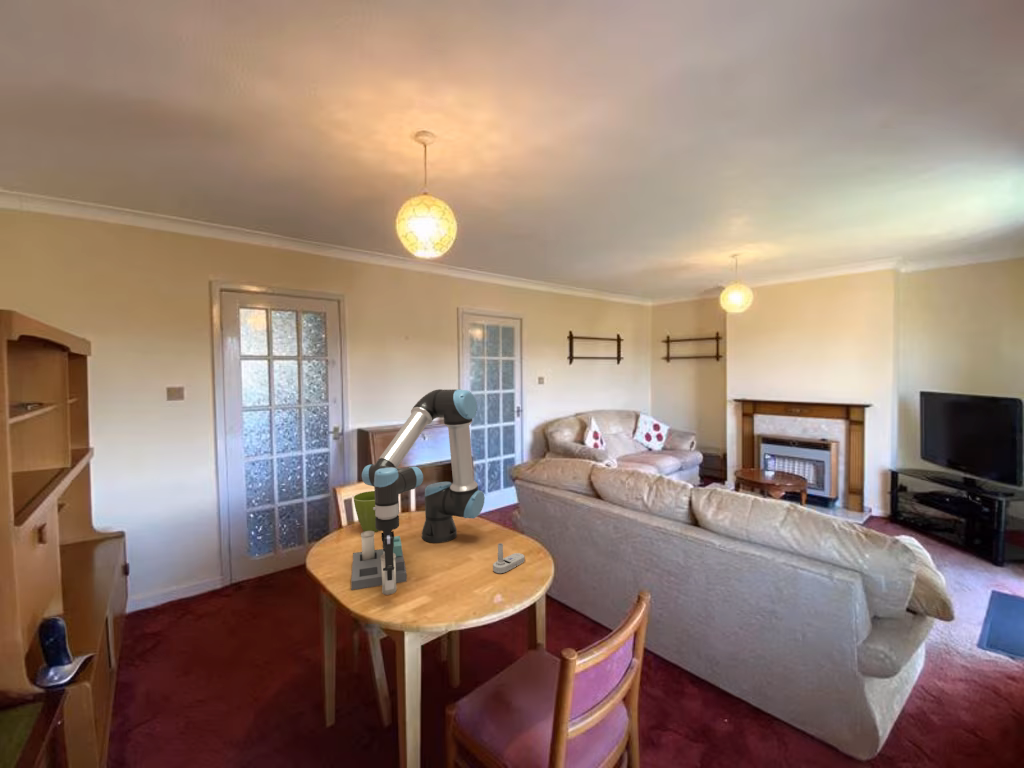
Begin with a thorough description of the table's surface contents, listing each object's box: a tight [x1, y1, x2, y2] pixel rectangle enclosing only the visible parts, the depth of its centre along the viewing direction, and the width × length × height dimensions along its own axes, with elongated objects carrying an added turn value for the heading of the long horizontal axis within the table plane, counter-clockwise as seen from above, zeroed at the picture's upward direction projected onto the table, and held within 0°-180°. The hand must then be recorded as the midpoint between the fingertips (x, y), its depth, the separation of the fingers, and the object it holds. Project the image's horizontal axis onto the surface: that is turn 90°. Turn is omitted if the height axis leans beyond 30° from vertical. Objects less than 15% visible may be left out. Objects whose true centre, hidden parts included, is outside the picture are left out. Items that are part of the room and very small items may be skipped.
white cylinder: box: [360, 531, 376, 561], centre depth 168 cm, size 5×5×12 cm
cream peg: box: [381, 553, 397, 596], centre depth 148 cm, size 5×5×12 cm
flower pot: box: [353, 490, 380, 533], centre depth 203 cm, size 15×15×16 cm
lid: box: [393, 535, 403, 557], centre depth 172 cm, size 4×10×5 cm, turn 18°
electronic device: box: [492, 543, 526, 574], centre depth 165 cm, size 5×10×15 cm
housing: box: [350, 548, 408, 591], centre depth 163 cm, size 18×24×6 cm
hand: (388, 579), depth 148 cm, fingers open, 13 cm apart
